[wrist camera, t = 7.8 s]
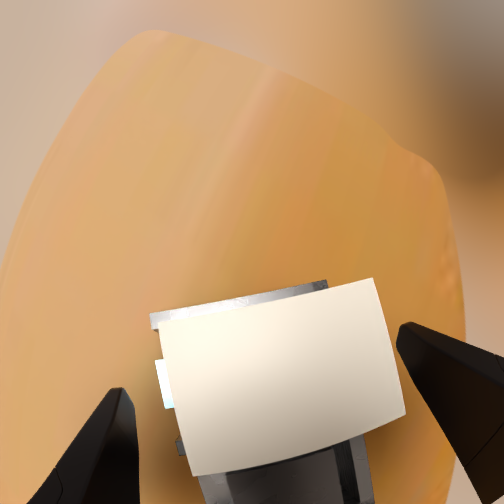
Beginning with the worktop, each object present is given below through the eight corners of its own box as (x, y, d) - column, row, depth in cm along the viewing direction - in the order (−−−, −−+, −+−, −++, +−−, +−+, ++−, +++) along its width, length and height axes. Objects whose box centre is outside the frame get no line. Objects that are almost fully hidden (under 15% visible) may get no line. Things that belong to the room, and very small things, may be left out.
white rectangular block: (301, 387, 16) (405, 414, 6) (214, 407, 15) (192, 476, 5) (287, 330, 17) (372, 277, 7) (201, 348, 16) (157, 322, 6)
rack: (359, 545, 12) (388, 575, 8) (228, 578, 11) (229, 618, 6) (307, 296, 19) (332, 273, 14) (154, 325, 18) (130, 312, 13)
